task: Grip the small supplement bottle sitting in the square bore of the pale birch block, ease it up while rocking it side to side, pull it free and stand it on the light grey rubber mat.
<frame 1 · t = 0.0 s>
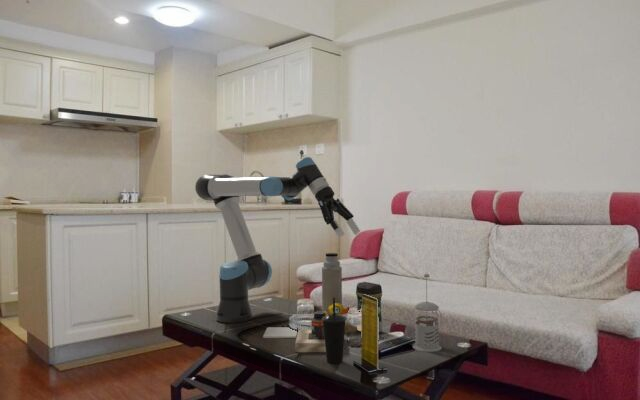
hand: (350, 234, 200), 36 cm above the table, tool tilted 35°, fingers open, 13 cm apart
supplement bottle: (320, 345, 176), resting in bore block
thermos bottle: (332, 323, 205), on the table
coffee jar: (369, 332, 191), on the table
duckling: (334, 329, 196), on the table
bore block: (320, 344, 176), on the table
drinking cup: (334, 362, 159), on the table
rubber mat: (281, 333, 190), on the table
french press: (428, 347, 173), on the table
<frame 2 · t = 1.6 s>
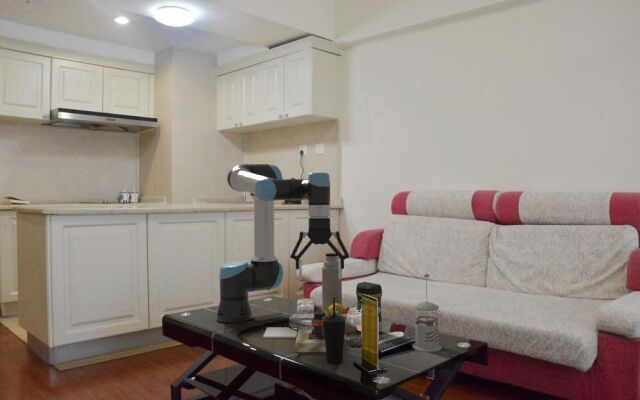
hand: (320, 278, 176), 23 cm above the table, tool pointing down, fingers open, 13 cm apart
nothing on the table moved.
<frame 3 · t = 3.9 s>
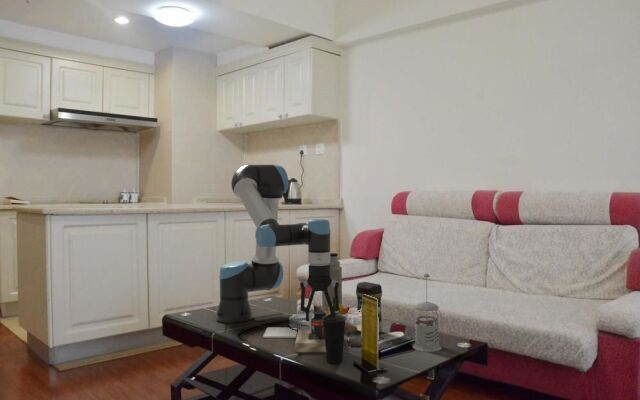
hand: (320, 330, 176), 5 cm above the table, tool pointing down, fingers closed on supplement bottle, 6 cm apart
supplement bottle: (320, 345, 176), resting in bore block, touching gripper
everything else where it was.
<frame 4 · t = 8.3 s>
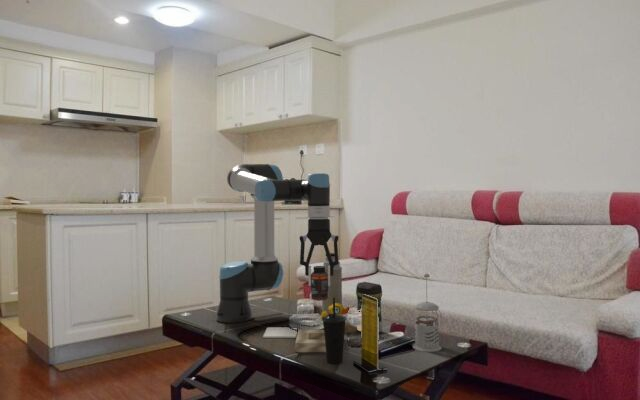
hand: (319, 285, 176), 21 cm above the table, tool pointing down, fingers closed on supplement bottle, 6 cm apart
supplement bottle: (319, 299, 176), point 16 cm above the table, touching gripper
everything else where it was.
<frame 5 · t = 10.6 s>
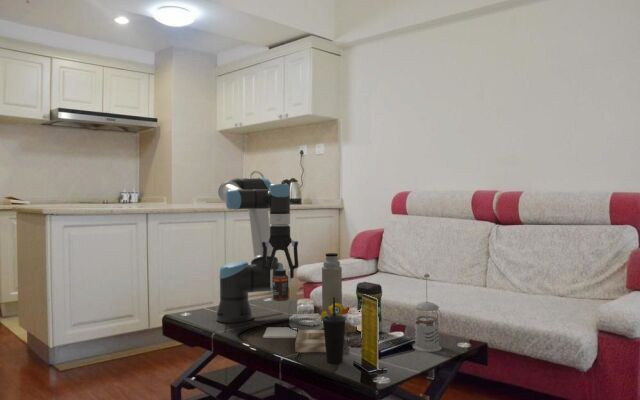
hand: (280, 286, 190), 17 cm above the table, tool pointing down, fingers closed on supplement bottle, 6 cm apart
supplement bottle: (281, 300, 190), point 12 cm above the table, touching gripper
everything else where it was.
when the fingers open (7 cm above the table, at t = 12.7 s): supplement bottle drops 2 cm, resting on rubber mat.
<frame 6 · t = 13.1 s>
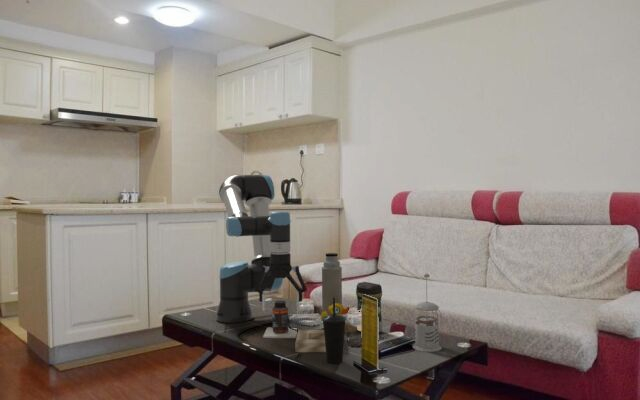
hand: (281, 310, 190), 9 cm above the table, tool pointing down, fingers open, 12 cm apart
supplement bottle: (280, 332, 190), resting on rubber mat
everything else where it was.
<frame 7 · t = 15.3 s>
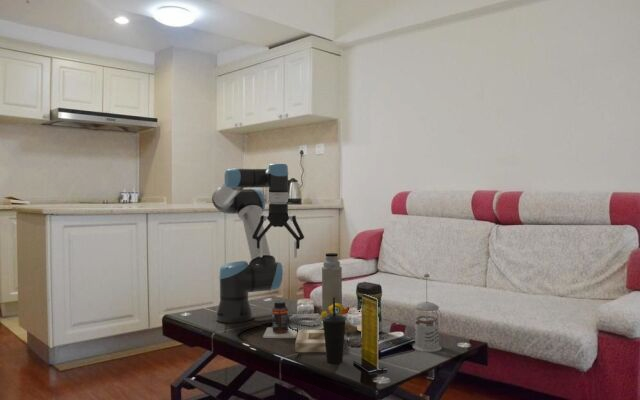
hand: (278, 257, 200), 27 cm above the table, tool pointing down, fingers open, 13 cm apart
nothing on the table moved.
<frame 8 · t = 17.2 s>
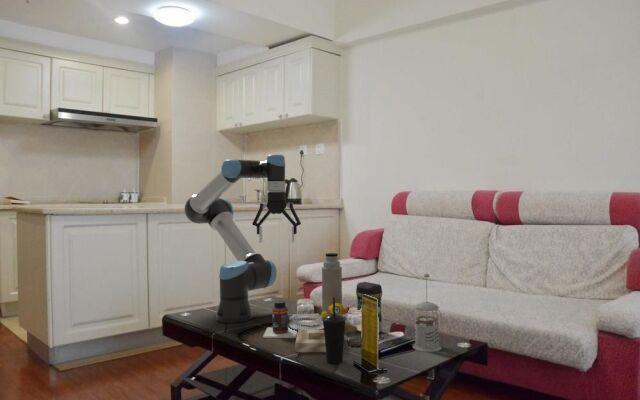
hand: (276, 242, 214), 32 cm above the table, tool pointing down, fingers open, 13 cm apart
nothing on the table moved.
at the end: supplement bottle inside the target area on the rubber mat (0.3 cm from its centre), point 0.4 cm above the rubber mat's base; supplement bottle tilted 0°; the gripper is holding nothing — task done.
